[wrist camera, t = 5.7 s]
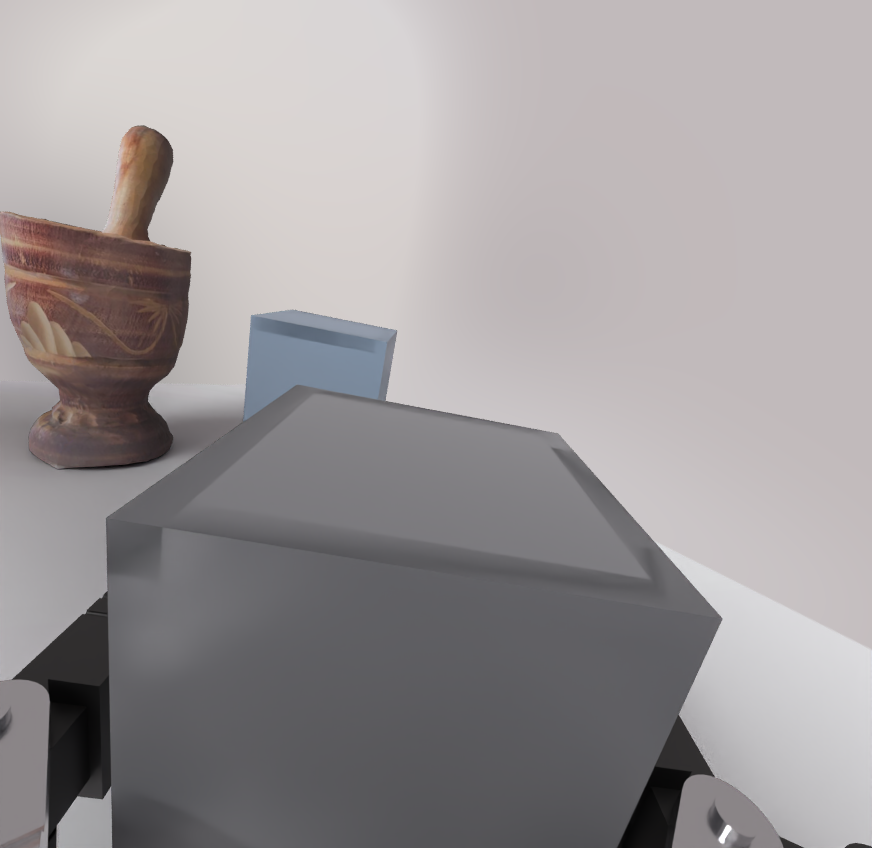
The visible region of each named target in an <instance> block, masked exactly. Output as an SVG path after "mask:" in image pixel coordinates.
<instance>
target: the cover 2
mask: <svg viewBox="0 0 872 848" xmlns="http://www.w3.org/2000/svg"><path fill="white" fill-rule="evenodd" d="M106 535H107V588H108V640H109V693H110V745H111V798H112V848H617V847H618V844H619V842H620V840H621V838H622V836H623V834H624V831H625V829H626V827H627V825H628V823H629V821H630V818H631V816H632V814H633V812H634V810H635V808H636V805H637V803H638V801H639V799H640V797H641V795H642V792H643V790H644V788H645V786H646V784H647V782H648V779H649V777H650V775H651V773H652V771H653V769H654V766H655V764H656V762H657V760H658V758H659V756H660V753H661V751H662V749H663V747H664V745H665V742H666V740H667V738H668V736H669V734H670V732H671V729H672V727H673V725H674V723H675V721H676V719H677V716H678V714H679V712H680V710H681V708H682V706H683V703H684V701H685V699H686V697H687V695H688V693H689V690H690V688H691V686H692V684H693V682H694V680H695V677H696V675H697V673H698V671H699V669H700V667H701V664H702V662H703V660H704V658H705V656H706V654H707V651H708V649H709V647H710V645H711V643H712V641H713V638H714V636H715V634H716V632H717V630H718V628H719V625H720V623H721V621H722V618H721V616H720V615H719V614H718V613H717V612H716V611H715V610H714V609H713V607H712V606H711V605H710V604H709V603H708V602H707V601H706V600H705V598H704V597H703V596H702V595H701V594H700V593H699V592H698V591H697V589H696V588H695V587H694V586H693V585H692V584H691V583H690V582H689V580H688V579H687V578H686V577H685V576H684V575H683V574H682V572H681V571H680V570H679V569H678V568H677V567H676V566H675V565H674V563H673V562H672V561H671V560H670V559H669V558H668V557H667V556H666V554H665V553H664V552H663V551H662V550H661V549H660V548H659V547H658V545H657V544H656V543H655V542H654V541H653V540H652V539H651V538H650V536H649V535H648V534H647V533H646V532H645V531H644V530H643V529H642V527H641V526H640V525H639V524H638V523H637V522H636V521H635V520H634V519H633V517H632V516H631V515H630V514H629V513H628V512H627V511H626V509H625V508H624V507H623V506H622V505H621V504H620V503H619V502H618V501H617V499H616V498H615V497H614V496H613V495H612V494H611V493H610V491H609V490H608V489H607V488H606V487H605V486H604V485H603V484H602V482H601V481H600V480H599V479H598V478H597V477H596V476H595V475H594V473H593V472H592V471H591V470H590V469H589V468H588V467H587V466H586V464H585V463H584V462H583V461H582V460H581V459H580V458H579V457H578V455H577V454H576V453H575V452H574V451H573V450H572V449H571V448H570V447H569V445H568V444H567V443H566V442H565V441H564V440H563V439H562V437H561V436H560V435H559V434H558V433H552V432H547V431H542V430H537V429H531V428H526V427H521V426H515V425H510V424H504V423H499V422H494V421H489V420H484V419H478V418H472V417H467V416H462V415H457V414H452V413H446V412H441V411H436V410H430V409H425V408H420V407H414V406H409V405H403V404H398V403H393V402H388V401H382V400H377V399H372V398H366V397H361V396H356V395H350V394H345V393H340V392H334V391H329V390H324V389H319V388H313V387H308V386H303V385H296V386H294V387H293V388H291V389H290V390H288V391H287V392H286V393H284V394H283V395H281V396H280V397H278V398H277V399H276V400H274V401H273V402H271V403H270V404H268V405H267V406H266V407H264V408H263V409H261V410H260V411H258V412H257V413H256V414H254V415H253V416H251V417H250V418H248V419H247V420H246V421H244V422H243V423H241V424H240V425H238V426H237V427H236V428H234V429H233V430H231V431H230V432H228V433H227V434H226V435H224V436H223V437H221V438H220V439H218V440H217V441H216V442H214V443H213V444H211V445H210V446H208V447H207V448H206V449H204V450H203V451H201V452H200V453H198V454H197V455H196V456H194V457H193V458H191V459H190V460H188V461H187V462H186V463H184V464H183V465H181V466H180V467H178V468H177V469H176V470H174V471H173V472H171V473H170V474H168V475H167V476H166V477H164V478H163V479H161V480H160V481H158V482H157V483H156V484H154V485H153V486H151V487H150V488H148V489H147V490H146V491H144V492H143V493H141V494H140V495H138V496H137V497H136V498H134V499H133V500H131V501H130V502H128V503H127V504H125V505H124V506H123V507H121V508H120V509H118V510H117V511H115V512H114V513H113V514H111V515H110V516H108V517H107V518H106Z"/></svg>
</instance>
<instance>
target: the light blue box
mask: <svg viewBox="0 0 872 848" xmlns="http://www.w3.org/2000/svg"><path fill="white" fill-rule="evenodd" d="M250 326H251V327H250V338H249V352H248V366H247V378H246V392H245V405H244V418H243V422H244V421H246V420H247V419H248V418H250V417H251V416H253V415H254V414H256V413H257V412H258V411H260V410H261V409H263V408H264V407H266V406H267V405H268V404H270V403H271V402H273V401H274V400H276V399H277V398H278V397H280V396H281V395H283V394H284V393H286V392H287V391H288V390H290V389H291V388H293V387H294V386H296V385H303V386H308V387H313V388H319V389H324V390H329V391H334V392H340V393H345V394H350V395H356V396H361V397H366V398H372V399H377V400H382V401H385V400H386V394H387V388H388V382H389V376H390V371H391V364H392V359H393V353H394V347H395V341H396V335H397V330H392V329H387V328H382V327H377V326H372V325H367V324H362V323H357V322H352V321H347V320H342V319H337V318H332V317H327V316H322V315H316V314H312V313H307V312H302V311H297V310H287V311H279V312H272V313H266V314H257V315H251V325H250Z"/></svg>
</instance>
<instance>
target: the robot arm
mask: <svg viewBox="0 0 872 848" xmlns="http://www.w3.org/2000/svg"><path fill="white" fill-rule="evenodd" d="M110 787H111V745H110V693H109V640H108V591H107V592H106V593H105V594H104V596H103V598H102V599H101V598H99V599H98V600H97V601H96V602H95V603H94V604H93V605H92V606H91V607H90V608H89V609H88V610H87V612H86V614H82V615H81V616H80V617H79V618H78V619H77V620H76V621H75V622H73V623H72V624H71V625H70V626H69V627H68V628H67V629H66V630H65V631H64V632H63V633H62V634H61V635H59V636H58V637H57V638H56V639H55V640H54V641H53V642H52V643H51V644H50V645H49V646H48V647H47V648H45V649H44V650H43V651H42V652H41V653H40V654H39V655H38V656H37V657H36V658H35V659H34V660H32V661H31V662H30V663H29V664H28V665H27V666H26V667H25V668H24V669H23V670H22V671H21V672H20V673H18V674H17V675H16V676H15V677H14V678H13V679H12V680H7V681H0V848H58V840H59V828H58V823H59V822H60V820H61V819H62V817H63V816H64V814H65V813H66V812H67V810H68V809H69V807H70V806H71V804H72V803H73V802H74V800H75V799H76V797H77V796H80V797H88V798H96V799H103V798H104V796H105V795H106V793H107V792H108V790H109V789H110ZM617 848H803V847H801V846H799V845H797V844H795V843H792V842H790V841H788V840H786V839H784V838H782V837H780V836H778V834H777V832H776V831H775V829H774V827H773V826H772V824H771V823H770V822H769V820H768V819H767V818H766V816H765V815H764V814H763V813H762V812H761V811H760V809H759V808H758V807H757V806H756V805H755V804H754V803H753V802H752V801H751V800H750V799H748V798H747V797H746V796H745V795H744V794H743V793H741V792H740V791H739V790H737V789H736V788H734V787H733V786H731V785H730V784H728V783H726V782H724V781H722V780H720V779H718V778H715V777H714V775H713V773H712V772H711V770H710V768H709V766H708V765H707V763H706V761H705V759H704V758H703V756H702V754H701V753H700V751H699V749H698V747H697V746H696V744H695V742H694V741H693V739H692V737H691V735H690V734H689V732H688V730H687V729H686V727H685V725H684V723H683V722H682V720H681V718H680V717H679V715H678V716H677V719H676V721H675V723H674V725H673V727H672V729H671V732H670V734H669V736H668V738H667V740H666V742H665V745H664V747H663V749H662V751H661V753H660V756H659V758H658V760H657V762H656V764H655V766H654V769H653V771H652V773H651V775H650V777H649V779H648V782H647V784H646V786H645V788H644V790H643V792H642V795H641V797H640V799H639V801H638V803H637V805H636V808H635V810H634V812H633V814H632V816H631V818H630V821H629V823H628V825H627V827H626V829H625V831H624V834H623V836H622V838H621V840H620V842H619V844H618V847H617ZM845 848H872V847H871V846H868V845H864V844H859V843H853V844H849V845H847V846H846V847H845Z"/></svg>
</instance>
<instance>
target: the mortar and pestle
mask: <svg viewBox="0 0 872 848" xmlns="http://www.w3.org/2000/svg"><path fill="white" fill-rule="evenodd" d="M172 164H173V149H172V147H171V145H170V143H169V141H168V140H167V139H166V138H165V137H164V136H163V135H162V134H160V133H159V132H157V131H156V130H154V129H151V128H148V127H146V126H135V127H132V128H131V129H130V130H129V131H128V132H127V133H126V134H125V136H124V137H123V138H122V141H121V145H120V149H119V155H118V161H117V167H116V177H115V186H114V193H113V197H112V202H111V207H110V212H109V217H108V220H107V224H106V226H105V228H104V229H103V231H102V232H101V231H95V230H90V229H85V228H81V227H76V226H71V225H67V224H62V223H57V222H53V221H49V220H46V219H37V218H33V217H26V216H22V215H18V214H15V213H11V212H0V234H1V242H2V256H3V262H4V265H5V287H6V297H7V304H8V309H9V314H10V319H11V321H12V323H13V326H14V328H15V331H16V333H17V335H18V337H19V339H20V341H21V343H22V345H23V348H24V351H25V354H26V356H27V358H28V360H29V361H30V362H31V363H32V364H33V365H34V366H35V367H36V368H37V369H38V370H39V371H40V372H41V373H42V374H43V375H44V376H45V377H46V378H48V379H49V380H50V381H51V382H52V383H53V384H54V385H55V386H56V387H57V388H58V389H59V395H60V401H59V402H58V403H57V404H56V405H55V406H54V407H52V409H53V410H51V411H49V412H46V413H44V414H43V415H42V416H40V417H39V418H38V419H37V421H36V422H35V423H34V425H33V426H32V428H31V430H30V433H29V450H30V451H31V452H32V453H33V454H34V455H35V456H36V457H38V458H39V459H41V460H43V461H44V462H46V463H48V464H50V465H51V466H53V467H55V468H56V469H62V468H75V467H95V466H109V465H124V464H131V463H137V462H144V461H149V460H150V459H154V458H157V457H159V456H161V455H163V454H164V453H166V452H167V451H168V450H169V449H170V446H171V444H172V442H173V435H172V434H171V433H170V431H169V428H168V425H167V423H166V421H165V420H164V419H163V418H162V416H161V415H159V414H158V413H157V412H156V411H155V410H154V409H153V408H152V407H151V405H150V404H149V402H148V395H149V391H150V390H151V389H152V387H153V386H154V385H155V384H156V383H158V382H159V381H160V380H162V379H163V378H164V377H166V376H167V375H168V374H169V373H170V371H171V370H172V368H173V367H174V366H175V363H176V360H177V356H178V353H179V350H180V347H181V346H182V343H183V338H184V333H185V329H186V324H187V318H188V306H189V303H188V292H189V286H190V278H191V274H190V270H191V256H190V254H191V252H189V251H186V250H180V249H177V248H169V247H166V246H165V245H159V244H156V243H153V242H150V240H149V238H148V231H147V229H148V226H149V224H150V222H151V219H152V215H153V213H154V211H155V207H156V205H157V202H158V201H159V200H160V197H161V195H162V193H163V191H164V189H165V186H166V184H167V182H168V178H169V176H170V171H171V167H172Z"/></svg>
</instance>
